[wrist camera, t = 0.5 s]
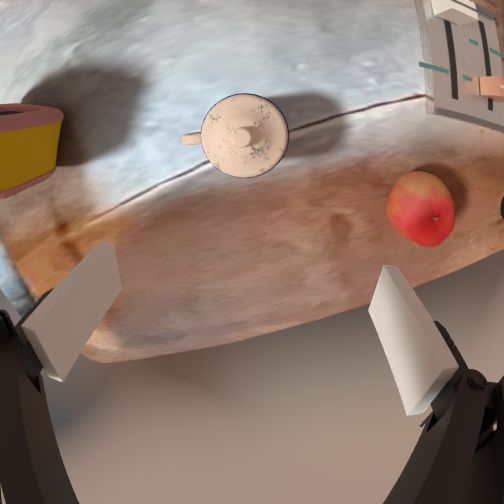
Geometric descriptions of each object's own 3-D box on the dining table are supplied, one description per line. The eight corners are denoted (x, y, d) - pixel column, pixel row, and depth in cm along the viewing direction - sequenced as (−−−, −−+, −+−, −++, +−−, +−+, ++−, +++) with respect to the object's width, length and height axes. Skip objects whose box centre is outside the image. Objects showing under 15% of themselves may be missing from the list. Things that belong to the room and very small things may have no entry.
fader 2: (479, 76, 25) (500, 76, 20) (499, 85, 25) (520, 86, 20) (480, 94, 26) (502, 96, 22) (500, 102, 26) (521, 104, 21)
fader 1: (430, -1, 21) (448, -10, 16) (456, 9, 20) (475, 2, 16) (434, 15, 22) (452, 7, 17) (459, 25, 22) (479, 19, 17)
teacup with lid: (282, 97, 33) (289, 88, 22) (285, 163, 37) (292, 183, 26) (191, 104, 34) (160, 100, 23) (197, 168, 38) (170, 189, 27)
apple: (438, 204, 38) (473, 229, 29) (393, 237, 41) (421, 270, 32) (413, 153, 34) (450, 167, 26) (364, 188, 38) (391, 211, 29)
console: (398, -17, 22) (407, -25, 19) (493, 21, 20) (504, 19, 17) (413, 111, 32) (424, 111, 29) (503, 133, 30) (515, 136, 27)
